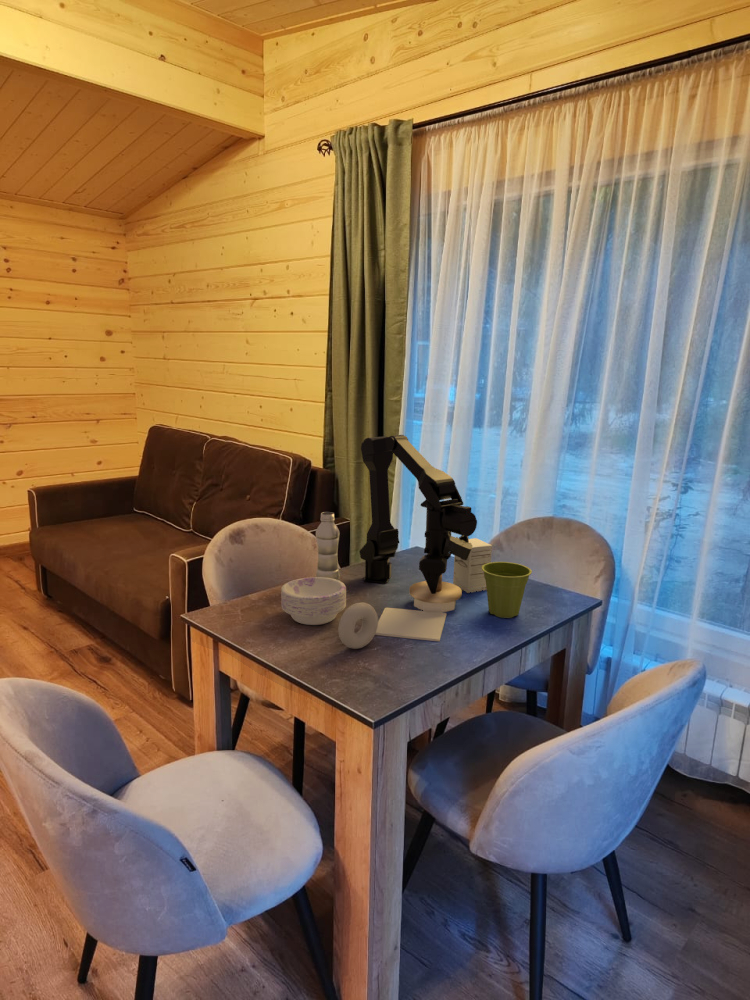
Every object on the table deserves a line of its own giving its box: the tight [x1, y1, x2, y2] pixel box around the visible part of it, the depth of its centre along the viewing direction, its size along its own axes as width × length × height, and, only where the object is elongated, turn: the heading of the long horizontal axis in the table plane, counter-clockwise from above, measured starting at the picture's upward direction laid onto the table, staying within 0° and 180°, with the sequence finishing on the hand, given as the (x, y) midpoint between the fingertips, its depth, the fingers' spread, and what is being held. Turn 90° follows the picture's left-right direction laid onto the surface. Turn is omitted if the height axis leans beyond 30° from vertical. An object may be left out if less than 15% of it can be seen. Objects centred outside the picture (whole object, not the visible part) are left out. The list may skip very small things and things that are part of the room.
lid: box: [408, 574, 463, 603], centre depth 158 cm, size 13×13×5 cm
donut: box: [337, 602, 379, 650], centre depth 134 cm, size 10×4×10 cm, turn 131°
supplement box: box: [452, 537, 493, 594], centre depth 171 cm, size 7×7×13 cm
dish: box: [413, 598, 457, 613], centre depth 159 cm, size 10×10×4 cm
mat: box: [374, 607, 447, 642], centre depth 147 cm, size 15×15×1 cm
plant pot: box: [482, 561, 533, 619], centre depth 154 cm, size 12×12×11 cm
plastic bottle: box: [315, 511, 341, 581], centre depth 170 cm, size 6×7×20 cm
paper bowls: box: [280, 576, 347, 626], centre depth 150 cm, size 15×15×8 cm
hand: (435, 587), depth 159 cm, fingers open, 8 cm apart
